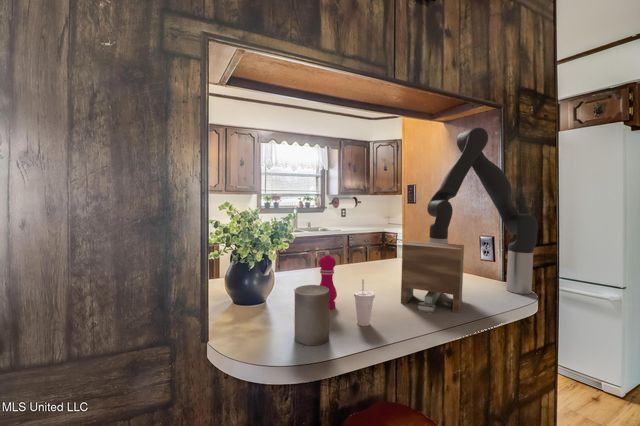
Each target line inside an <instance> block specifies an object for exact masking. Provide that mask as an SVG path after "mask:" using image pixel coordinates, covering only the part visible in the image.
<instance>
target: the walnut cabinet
mask: <svg viewBox="0 0 640 426" xmlns="http://www.w3.org/2000/svg"><path fill="white" fill-rule="evenodd" d="M401 251H402V253H401V255H402V256H401V282H400V283H401V284H400V303H401V304H404V305H407V304H408V302H409V301H410V300H411V299H412V298H413V296H414V290H419V291H423V292H425V291H426V292H428V291H431V292H438V293H441V294H445V295H452V313H460V309H461V308H462V307H461V306H462V304H463V285H464V284H463V283H464V282H463V281H464V280H463V277H464V260H465V259H464V258H465V257H464V256H465V255H464V254H465V245H464V244H455V243H448V244H444V243H432V242H429V241H418V240H409V241H407V242H404V243H403V244H402V250H401Z"/></svg>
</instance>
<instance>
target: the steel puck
mask: <svg viewBox="0 0 640 426" xmlns="http://www.w3.org/2000/svg"><path fill="white" fill-rule="evenodd" d="M416 306H417V312H419V311H420V313H422V312H423V313H422V314H428V313H431V314H435V313H436V305H435V304H431V303H426V302H423V301H422V302H418V303H417V305H416Z"/></svg>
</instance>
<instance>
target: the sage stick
mask: <svg viewBox="0 0 640 426" xmlns="http://www.w3.org/2000/svg"><path fill="white" fill-rule="evenodd" d="M441 294H442V293H438V292H431V291H427V293H426V294H425V295H424V300H423V301H424V302H426V303H431V304H434V305H435V304H436V302H437V301H438V299H439V297H440V295H441Z"/></svg>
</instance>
